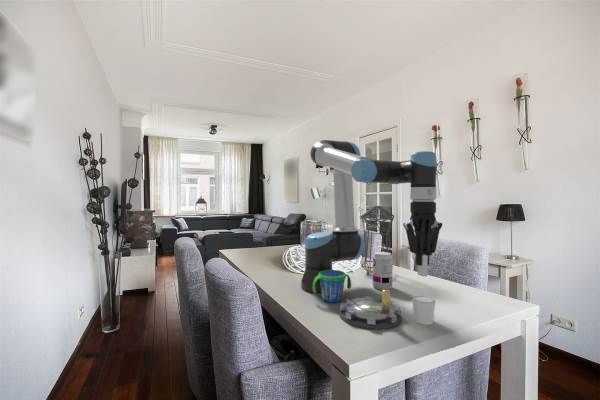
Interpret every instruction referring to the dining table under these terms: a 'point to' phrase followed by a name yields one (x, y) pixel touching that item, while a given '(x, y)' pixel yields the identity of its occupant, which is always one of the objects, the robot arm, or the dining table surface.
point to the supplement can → (382, 270)
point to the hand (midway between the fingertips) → (422, 275)
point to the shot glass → (423, 309)
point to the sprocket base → (369, 326)
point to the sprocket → (371, 309)
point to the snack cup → (332, 284)
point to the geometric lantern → (375, 233)
